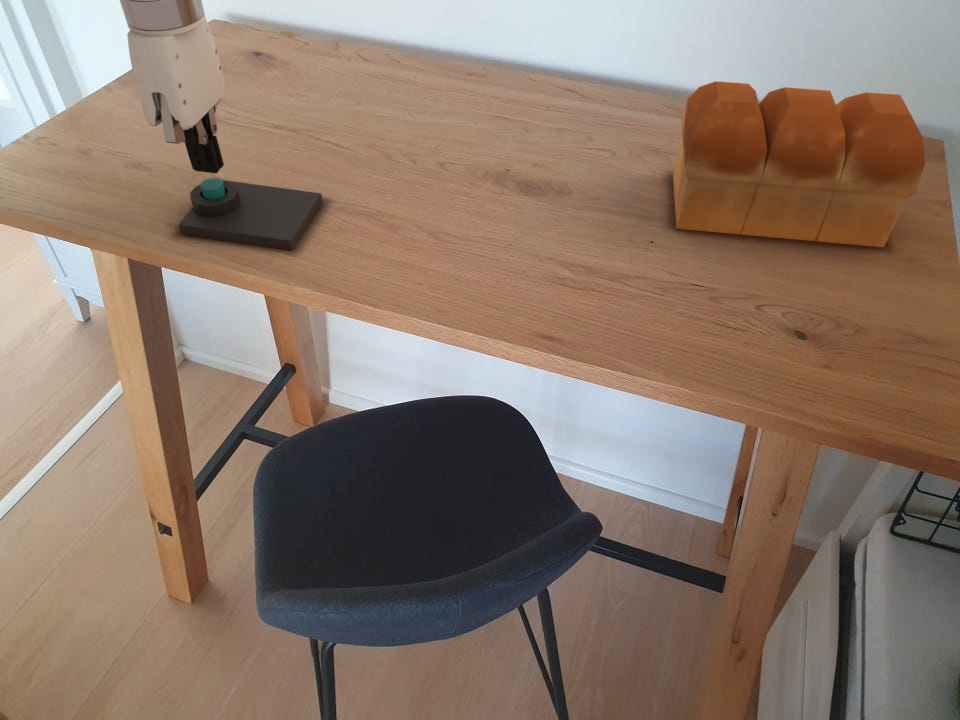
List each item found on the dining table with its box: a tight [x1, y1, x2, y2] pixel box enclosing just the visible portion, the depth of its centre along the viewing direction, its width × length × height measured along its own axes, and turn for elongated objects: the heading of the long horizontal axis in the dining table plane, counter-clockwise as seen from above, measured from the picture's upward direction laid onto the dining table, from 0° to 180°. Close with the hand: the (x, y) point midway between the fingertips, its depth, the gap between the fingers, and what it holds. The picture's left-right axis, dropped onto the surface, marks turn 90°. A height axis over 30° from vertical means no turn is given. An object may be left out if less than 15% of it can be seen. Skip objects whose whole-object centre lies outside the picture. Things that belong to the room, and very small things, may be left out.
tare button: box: [199, 177, 226, 200], centre depth 91 cm, size 3×3×2 cm
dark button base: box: [177, 179, 324, 251], centre depth 92 cm, size 14×10×3 cm
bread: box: [672, 80, 926, 248], centre depth 90 cm, size 25×12×15 cm, turn 82°
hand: (208, 168), depth 89 cm, fingers closed
